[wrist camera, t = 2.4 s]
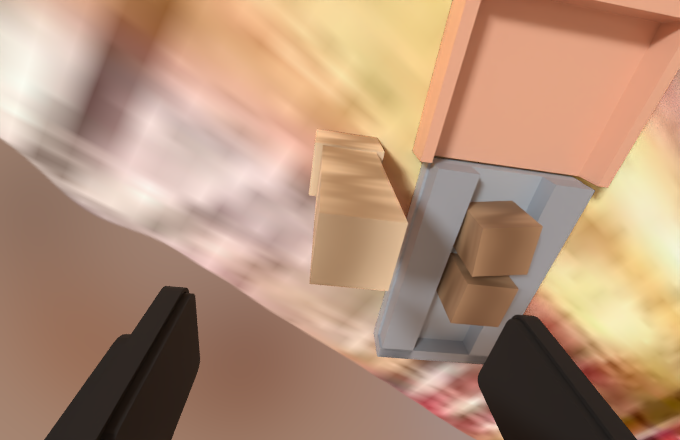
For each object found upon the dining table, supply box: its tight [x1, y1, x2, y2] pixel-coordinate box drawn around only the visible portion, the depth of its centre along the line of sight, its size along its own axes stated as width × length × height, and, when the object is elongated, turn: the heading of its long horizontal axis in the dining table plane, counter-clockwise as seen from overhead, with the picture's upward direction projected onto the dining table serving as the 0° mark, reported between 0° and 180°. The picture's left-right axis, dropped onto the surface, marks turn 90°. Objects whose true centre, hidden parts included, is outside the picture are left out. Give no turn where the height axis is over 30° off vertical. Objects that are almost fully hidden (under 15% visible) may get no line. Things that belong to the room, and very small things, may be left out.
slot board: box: [374, 157, 595, 364], centre depth 28 cm, size 12×19×3 cm, turn 171°
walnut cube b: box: [453, 201, 543, 277], centre depth 24 cm, size 4×4×4 cm
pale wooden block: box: [309, 129, 408, 291], centre depth 18 cm, size 4×4×12 cm
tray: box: [413, 0, 680, 188], centre depth 21 cm, size 14×11×2 cm
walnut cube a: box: [436, 253, 519, 327], centre depth 26 cm, size 4×4×4 cm
